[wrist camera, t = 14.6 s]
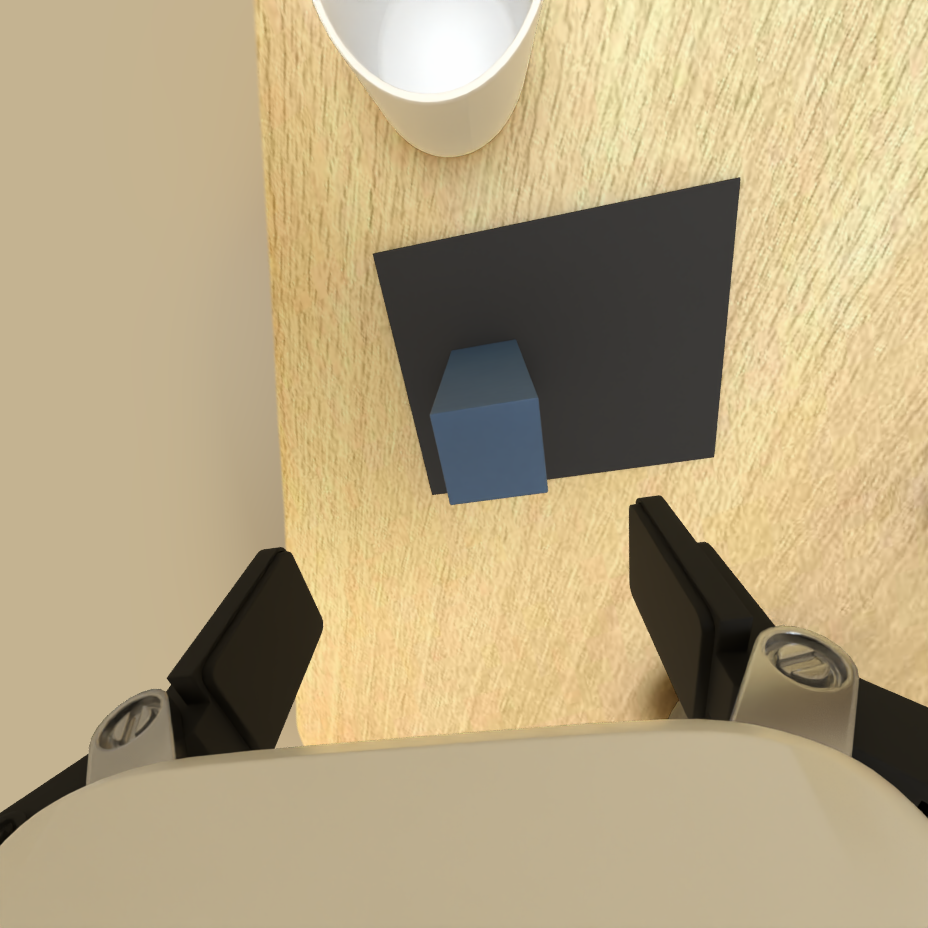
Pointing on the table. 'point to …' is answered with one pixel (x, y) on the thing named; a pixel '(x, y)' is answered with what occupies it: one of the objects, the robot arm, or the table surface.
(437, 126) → the mug
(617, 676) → the table surface
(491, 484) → the block
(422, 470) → the table surface
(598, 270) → the mat
